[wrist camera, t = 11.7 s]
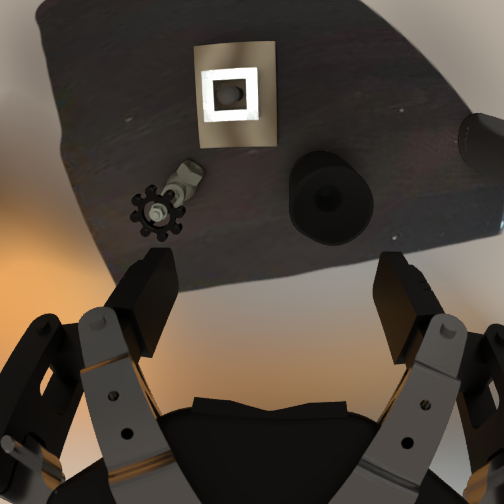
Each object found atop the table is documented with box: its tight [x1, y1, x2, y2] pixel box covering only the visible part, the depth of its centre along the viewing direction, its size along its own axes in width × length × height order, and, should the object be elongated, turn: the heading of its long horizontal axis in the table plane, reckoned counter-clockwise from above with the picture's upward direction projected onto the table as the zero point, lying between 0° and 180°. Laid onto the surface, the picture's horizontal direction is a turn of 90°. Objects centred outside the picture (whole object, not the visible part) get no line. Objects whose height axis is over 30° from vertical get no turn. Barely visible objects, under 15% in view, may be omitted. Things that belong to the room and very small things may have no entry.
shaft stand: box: [194, 41, 277, 148], centre depth 30 cm, size 10×14×10 cm
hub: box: [201, 68, 261, 122], centre depth 30 cm, size 6×6×5 cm
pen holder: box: [289, 151, 374, 246], centre depth 35 cm, size 9×9×10 cm
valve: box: [130, 160, 205, 242], centre depth 36 cm, size 7×7×12 cm
